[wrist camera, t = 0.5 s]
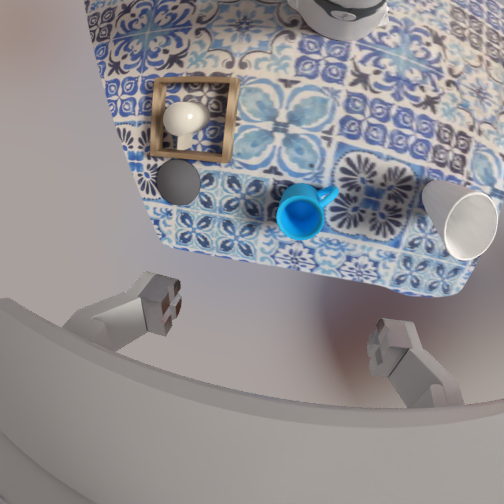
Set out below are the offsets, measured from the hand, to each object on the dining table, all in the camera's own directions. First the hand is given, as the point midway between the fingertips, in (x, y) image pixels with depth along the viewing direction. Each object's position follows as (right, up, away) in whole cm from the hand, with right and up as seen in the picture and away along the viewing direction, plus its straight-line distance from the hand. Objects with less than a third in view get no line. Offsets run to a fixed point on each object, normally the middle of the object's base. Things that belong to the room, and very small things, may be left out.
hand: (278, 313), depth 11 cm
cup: (+36, +14, +36) cm, 53 cm away
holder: (-12, +28, +38) cm, 49 cm away
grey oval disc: (-16, +17, +45) cm, 51 cm away
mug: (+10, +13, +42) cm, 45 cm away
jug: (-12, +27, +38) cm, 49 cm away
